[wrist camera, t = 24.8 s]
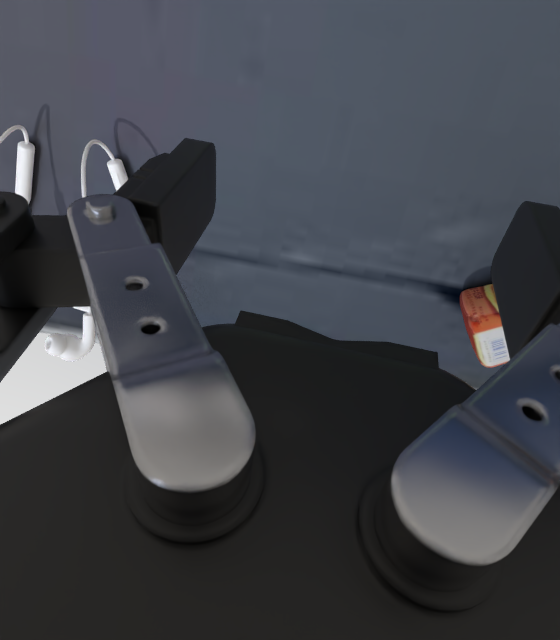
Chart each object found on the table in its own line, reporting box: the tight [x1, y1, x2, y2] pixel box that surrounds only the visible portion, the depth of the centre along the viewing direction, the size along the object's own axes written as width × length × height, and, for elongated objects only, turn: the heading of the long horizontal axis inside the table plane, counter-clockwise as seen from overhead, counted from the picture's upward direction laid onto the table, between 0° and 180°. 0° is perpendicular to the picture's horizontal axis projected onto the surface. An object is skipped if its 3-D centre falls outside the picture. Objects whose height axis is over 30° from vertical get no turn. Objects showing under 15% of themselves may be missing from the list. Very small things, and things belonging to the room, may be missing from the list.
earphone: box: [0, 125, 128, 361], centre depth 42 cm, size 14×17×18 cm
